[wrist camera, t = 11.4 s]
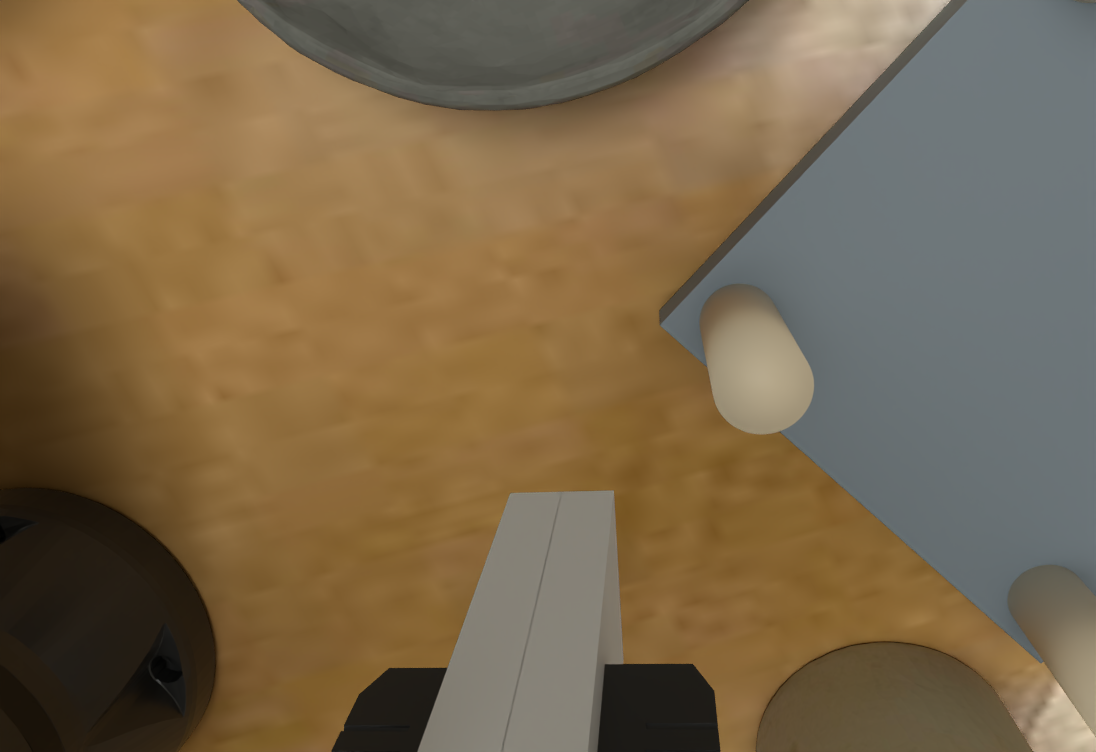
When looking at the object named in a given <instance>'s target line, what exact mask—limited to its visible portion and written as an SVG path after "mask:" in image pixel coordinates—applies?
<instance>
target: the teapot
mask: <svg viewBox="0 0 1096 752" xmlns="http://www.w3.org/2000/svg"><path fill="white" fill-rule="evenodd" d="M756 752H1033V751H1032V749H1031V748H1030V746H1029V744H1028V743H1027V741H1026V740H1025V738H1024V736H1023V735H1022V733H1021V732H1020V730H1019V729H1018V727H1017V725H1016V724H1015V722H1014V720H1013V719H1012V717H1011V716H1010V714H1009V712H1008V711H1007V709H1006V707H1005V706H1004V704H1003V703H1002V701H1001V699H1000V698H999V696H998V695H997V694H996V692H995V691H994V690H993V689H992V687H991V686H990V685H989V684H988V683H986V682H985V681H984V680H983V679H982V678H981V677H980V676H979V675H978V674H977V673H976V672H974V671H973V670H972V669H970V668H969V667H967V666H965V665H964V664H962V663H961V662H959V661H957V660H956V659H954V658H953V657H950V656H948V655H946V654H943V653H941V652H939V651H936V650H932V649H929V648H926V647H922V646H917V645H912V644H905V643H895V642H876V643H868V644H861V645H854V646H850V647H846V648H843V649H840V650H837V651H834V652H831V653H829V654H827V655H825V656H823V657H821V658H819V659H817V660H815V661H813V662H811V663H809V664H807V665H806V666H804V667H803V668H802V669H800V670H799V671H798V672H796V673H795V674H794V675H793V676H791V677H790V678H789V679H788V680H787V681H786V682H785V684H784V685H783V686H782V687H781V688H780V689H779V690H778V692H777V693H776V695H775V696H774V698H773V699H772V701H771V702H770V704H769V706H768V707H767V709H766V711H765V713H764V716H763V718H762V721H761V724H760V727H759V731H758V736H757V745H756Z"/></svg>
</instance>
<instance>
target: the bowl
mask: <svg viewBox="0 0 1096 752" xmlns="http://www.w3.org/2000/svg"><path fill="white" fill-rule="evenodd" d="M747 1H749V0H238V2H239V3H240V4H241V5H243V6H244V7H245V8H246V9H247V10H248V11H249V12H250V13H251V14H252V15H253V16H254V17H255V18H256V19H257V20H258V21H259V22H260V23H262V24H263V25H264V26H266V27H267V28H268V29H269V30H271V31H272V32H273V33H274V34H276V35H277V36H278V37H279V38H281V39H282V40H283V41H284V42H285V43H286V44H288V45H289V46H290V47H292V48H293V49H295V50H296V51H297V52H299V53H300V54H302V55H304V56H306V57H308V58H310V59H311V60H313V61H315V62H317V63H319V64H321V65H322V66H324V67H326V68H328V69H330V70H332V71H334V72H335V73H338V74H340V75H342V76H344V77H346V78H349V79H351V80H353V81H356V82H358V83H361V84H364V85H367V86H369V87H372V88H375V89H377V90H380V91H383V92H385V93H388V94H391V95H393V96H396V97H399V98H403V99H406V100H410V101H414V102H418V103H422V104H426V105H432V106H439V107H445V108H451V109H458V110H519V109H529V108H535V107H541V106H547V105H552V104H558V103H563V102H566V101H570V100H574V99H577V98H581V97H584V96H587V95H590V94H593V93H596V92H599V91H602V90H605V89H607V88H610V87H613V86H615V85H618V84H620V83H623V82H625V81H628V80H630V79H633V78H635V77H637V76H639V75H641V74H643V73H645V72H646V71H648V70H650V69H652V68H654V67H656V66H658V65H659V64H661V63H663V62H664V61H666V60H668V59H669V58H671V57H673V56H674V55H676V54H678V53H679V52H681V51H682V50H684V49H685V48H687V47H688V46H690V45H691V44H693V43H694V42H696V41H697V40H699V39H700V38H702V37H703V36H705V35H706V34H708V33H709V32H710V31H712V30H713V29H715V28H716V27H718V26H719V25H721V24H722V23H723V22H724V21H726V20H727V19H728V18H729V17H730V16H732V15H733V14H734V13H735V12H736V11H738V10H739V9H740V8H741V7H742V6H743V5H744V4H745V3H746V2H747Z"/></svg>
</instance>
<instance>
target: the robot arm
mask: <svg viewBox="0 0 1096 752" xmlns="http://www.w3.org/2000/svg"><path fill="white" fill-rule="evenodd" d="M214 675H215V651H214V643H213V637H212V632H211V628H210V625H209V621H208V618H207V615H206V612H205V610H204V607H203V605H202V603H201V600H200V598H199V596H198V595H197V593H196V591H195V589H194V587H193V585H192V584H191V582H190V580H189V579H188V577H187V576H186V574H185V573H184V572H183V570H182V569H181V567H180V566H179V565H178V564H177V562H176V561H175V560H174V559H173V558H172V556H171V555H170V554H169V553H168V552H167V551H166V550H165V549H164V548H163V547H162V546H161V545H160V544H159V543H158V542H157V541H156V540H155V539H154V538H152V537H151V536H150V535H149V534H148V533H147V532H145V531H144V530H143V529H141V528H140V527H139V526H137V525H136V524H135V523H133V522H132V521H130V520H129V519H127V518H125V517H124V516H122V515H120V514H119V513H117V512H115V511H113V510H111V509H109V508H107V507H105V506H103V505H101V504H99V503H96V502H94V501H91V500H89V499H86V498H83V497H80V496H77V495H73V494H69V493H66V492H61V491H55V490H49V489H41V488H14V489H4V490H0V752H178V751H179V750H180V748H181V747H182V746H183V744H184V743H185V741H186V740H187V739H188V737H189V736H190V735H191V733H192V732H193V730H194V729H195V728H196V726H197V725H198V723H199V721H200V720H201V718H202V716H203V714H204V712H205V710H206V707H207V705H208V702H209V699H210V696H211V692H212V688H213V682H214ZM332 752H720V743H719V733H718V724H717V714H716V704H715V694H714V690H713V689H712V688H711V686H710V685H709V684H708V683H707V681H706V680H705V679H704V677H703V676H702V675H701V674H700V672H699V671H698V670H697V669H696V667H695V666H694V665H693V664H623V643H622V625H621V608H620V590H619V573H618V555H617V537H616V520H615V502H614V490H612V491H573V492H534V493H510V496H509V498H508V501H507V504H506V507H505V509H504V512H503V515H502V518H501V521H500V523H499V526H498V529H497V532H496V535H495V537H494V540H493V543H492V546H491V548H490V551H489V554H488V557H487V560H486V562H485V565H484V568H483V571H482V573H481V576H480V579H479V582H478V585H477V587H476V590H475V593H474V596H473V599H472V601H471V604H470V607H469V610H468V612H467V615H466V618H465V621H464V624H463V626H462V629H461V632H460V635H459V637H458V640H457V643H456V646H455V649H454V651H453V654H452V657H451V660H450V663H449V665H448V668H389V669H388V670H387V671H385V672H384V673H383V674H382V675H381V676H380V677H379V678H377V679H376V680H375V681H374V682H373V683H372V684H371V685H369V686H368V687H367V688H366V689H365V690H364V691H363V692H361V693H360V694H359V696H358V698H357V700H356V702H355V704H354V706H353V708H352V710H351V712H350V714H349V716H348V718H347V720H346V722H345V724H344V731H341V732H340V735H339V737H338V739H337V741H336V743H335V745H334V747H333V749H332Z"/></svg>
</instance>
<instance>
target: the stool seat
mask: <svg viewBox="0 0 1096 752" xmlns="http://www.w3.org/2000/svg"><path fill="white" fill-rule="evenodd" d="M659 316H660V326H661V327H662V328H663V329H665V330H666V331H667V332H668V333H669V334H670V335H671V336H672V337H674V338H675V339H676V340H677V341H678V342H679V343H680V344H681V345H683V346H684V347H685V348H686V349H687V350H688V351H689V352H691V353H692V354H693V355H694V356H695V357H696V358H697V359H698V360H700V361H701V362H702V363H703V364H704V365H705V366H706V367H707V368H708V372H709V378H710V383H711V388H712V393H713V397H714V401H715V404H716V407H717V409H718V410H719V412H720V414H721V415H722V416H723V417H724V418H725V419H726V420H727V422H729V423H730V424H731V425H733V426H734V427H736V428H738V429H740V430H742V431H744V432H748V433H753V434H771V433H776V432H779V431H780V432H781V433H782V434H783V435H784V436H785V437H786V438H787V439H789V440H790V441H791V442H792V443H793V444H794V445H795V446H796V447H798V448H799V449H800V450H801V451H802V452H803V453H804V454H805V455H807V456H808V457H809V458H810V459H811V460H812V461H813V462H814V463H816V464H817V465H818V466H819V467H820V468H821V469H822V470H824V471H825V472H826V473H827V474H828V475H829V476H830V477H831V478H833V479H834V480H835V481H836V482H837V483H838V484H839V485H840V486H842V487H843V488H844V489H845V490H846V491H847V492H848V493H849V494H851V495H852V496H853V497H854V498H855V499H856V500H857V501H858V502H860V503H861V504H862V505H863V506H864V507H865V508H866V509H867V510H869V511H870V512H871V513H872V514H873V515H874V516H875V517H876V518H878V519H879V520H880V521H881V522H882V523H883V524H884V525H885V526H887V527H888V528H889V529H890V530H891V531H892V532H893V533H895V534H896V535H897V536H898V537H899V538H900V539H901V540H902V541H904V542H905V543H906V544H907V545H908V546H909V547H910V548H911V549H913V550H914V551H915V552H916V553H917V554H918V555H919V556H920V557H922V558H923V559H924V560H925V561H926V562H927V563H928V564H929V565H931V566H932V567H933V568H934V569H935V570H936V571H937V572H938V573H940V574H941V575H942V576H943V577H944V578H945V579H946V580H947V581H949V582H950V583H951V584H952V585H953V586H954V587H955V588H957V589H958V590H959V591H960V592H961V593H962V594H963V595H964V596H966V597H967V598H968V599H969V600H970V601H971V602H972V603H973V604H975V605H976V606H977V607H978V608H979V609H980V610H981V611H982V612H984V613H985V614H986V615H987V616H988V617H989V618H990V619H991V620H993V621H994V622H995V623H996V624H997V625H998V626H999V627H1000V628H1002V629H1003V630H1004V631H1005V632H1006V633H1007V634H1008V635H1009V636H1011V637H1012V638H1013V639H1014V640H1015V641H1016V642H1017V643H1018V644H1020V645H1021V646H1022V647H1023V648H1024V649H1025V650H1026V651H1028V652H1029V653H1030V654H1031V655H1032V656H1033V657H1034V658H1035V659H1037V660H1038V661H1039V662H1040V663H1042V662H1044V663H1045V664H1046V666H1047V667H1048V669H1049V670H1050V671H1051V673H1052V674H1053V676H1054V677H1055V679H1056V680H1057V682H1058V683H1059V685H1060V686H1061V687H1062V689H1063V690H1064V692H1065V693H1066V695H1067V696H1068V698H1069V699H1070V701H1071V702H1072V703H1073V705H1074V706H1075V708H1076V709H1077V711H1078V712H1079V714H1080V715H1081V717H1082V718H1083V719H1084V721H1085V722H1086V724H1087V725H1088V727H1089V728H1090V730H1091V731H1092V732H1093V734H1094V735H1095V737H1096V0H951V1H950V2H949V3H948V5H947V6H946V7H945V8H944V9H943V10H942V11H941V12H940V13H939V14H938V15H937V16H936V17H935V18H934V19H933V20H932V22H931V23H930V24H929V25H928V26H927V27H926V28H925V29H924V30H923V31H922V32H921V33H920V34H919V35H918V36H917V37H916V39H915V40H914V41H913V42H912V43H911V44H910V45H909V46H908V47H907V48H906V49H905V50H904V51H903V52H902V53H901V54H900V56H899V57H898V58H897V59H896V60H895V61H894V62H893V63H892V64H891V65H890V66H889V67H888V68H887V69H886V70H885V71H884V73H883V74H882V75H881V76H880V77H879V78H878V79H877V80H876V81H875V82H874V83H873V84H872V85H871V86H870V87H869V88H868V90H867V91H866V92H865V93H864V94H863V95H862V96H861V97H860V98H859V99H858V100H857V101H856V102H855V103H854V104H853V105H852V107H851V108H850V109H849V110H848V111H847V112H846V113H845V114H844V115H843V116H842V117H841V118H840V119H839V120H838V121H837V122H836V123H835V125H834V126H833V127H832V128H831V129H830V130H829V131H828V132H827V133H826V134H825V135H824V136H823V137H822V138H821V139H820V140H819V142H818V143H817V144H816V145H815V146H814V147H813V148H812V149H811V150H810V151H809V152H808V153H807V154H806V155H805V156H804V157H803V159H802V160H801V161H800V162H799V163H798V164H797V165H796V166H795V167H794V168H793V169H792V170H791V171H790V172H789V173H788V174H787V176H786V177H785V178H784V179H783V180H782V181H781V182H780V183H779V184H778V185H777V186H776V187H775V188H774V189H773V190H772V191H771V193H770V194H769V195H768V196H767V197H766V198H765V199H764V200H763V201H762V202H761V203H760V204H759V205H758V206H757V207H756V208H755V210H754V211H753V212H752V213H751V214H750V215H749V216H748V217H747V218H746V219H745V220H744V221H743V222H742V223H741V224H740V225H739V227H738V228H737V229H736V230H735V231H734V232H733V233H732V234H731V235H730V236H729V237H728V238H727V239H726V240H725V241H724V242H723V244H722V245H721V246H720V247H719V248H718V249H717V250H716V251H715V252H714V253H713V254H712V255H711V256H710V257H709V258H708V259H707V261H706V262H705V263H704V264H703V265H702V266H701V267H700V268H699V269H698V270H697V271H696V272H695V273H694V274H693V275H692V276H691V278H690V279H689V280H688V281H687V282H686V283H685V284H684V285H683V286H682V287H681V288H680V289H679V290H678V291H677V292H676V293H675V295H674V296H673V297H672V298H671V299H670V300H669V301H668V302H667V303H666V304H665V305H664V306H663V307H662V308H661V309H660V310H659Z"/></svg>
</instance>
